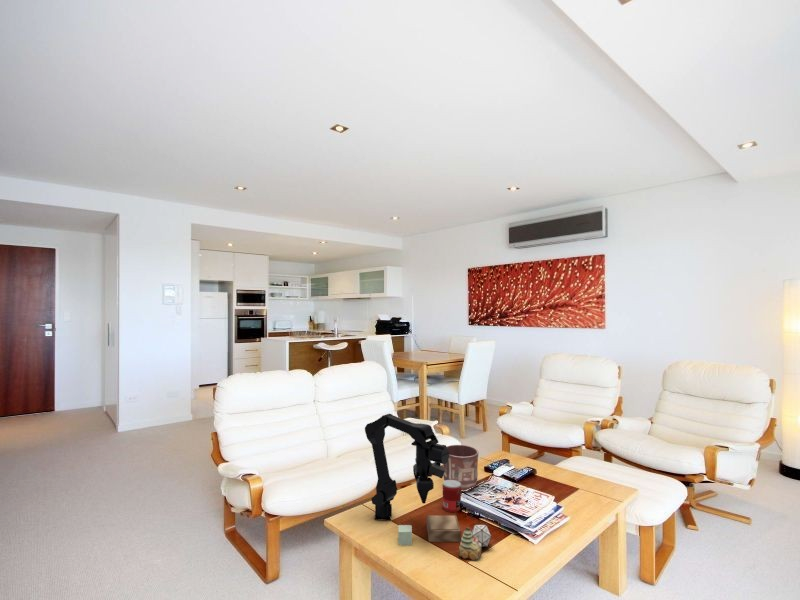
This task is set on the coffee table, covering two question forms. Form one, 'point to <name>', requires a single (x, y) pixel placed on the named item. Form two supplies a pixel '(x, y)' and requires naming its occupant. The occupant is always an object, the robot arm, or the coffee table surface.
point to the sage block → (404, 534)
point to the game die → (481, 534)
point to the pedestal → (443, 529)
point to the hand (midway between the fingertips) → (422, 497)
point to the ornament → (469, 546)
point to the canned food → (451, 495)
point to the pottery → (462, 465)
